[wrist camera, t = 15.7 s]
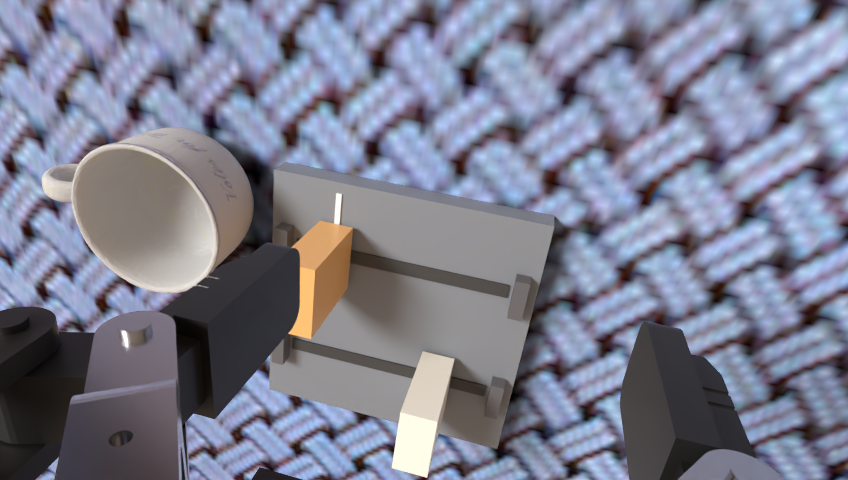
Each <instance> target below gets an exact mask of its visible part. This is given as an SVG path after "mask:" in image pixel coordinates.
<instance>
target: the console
mask: <svg viewBox="0 0 848 480" xmlns="http://www.w3.org/2000/svg"><path fill="white" fill-rule="evenodd" d="M319 221H324V222H329V223H334V224H338V225H343V226H348V227H352V228H353V235H352V246H351V257H350V269H349V280H348V288H347V290H346V291H345V293H344V294H343V295H342V297H341V298H340V300H339V301H338V302H337V304H336V305H335V307H334V308H333V309H332V311H331V312H330V314H329V315H328V316H327V318H326V319H325V321H324V322H323V323H322V325H321V326H320V328H319V329H318V330H317V332H316V333H315V335H314V336H313V337H312V339H308V338H304V337H300V336H296V335H292V334H287V335H286V337H285V338H284V339H283V340H282V341H281V342H280V344H279V345H278V346H277V347H276V348H275V349H274V351H273V352H272V353H271V354H270V388H269V389H271V390H274V391H278V392H282V393H286V394H290V395H293V396H297V397H301V398H305V399H309V400H313V401H316V402H320V403H324V404H328V405H332V406H335V407H339V408H343V409H347V410H351V411H354V412H358V413H362V414H366V415H370V416H374V417H377V418H381V419H385V420H389V421H393V422H396V423H399V418H400V412H401V409H402V406H403V404H404V401H405V398H406V396H407V393H408V390H409V387H410V385H411V382H412V379H413V376H414V374H415V371H416V368H417V366H418V363H419V360H420V357H421V355H422V352H423V351H424V352H428V353H432V354H437V355H441V356H445V357H449V358H453V359H454V364H453V370H452V375H451V380H450V385H449V390H448V395H447V400H446V405H445V410H444V414H443V418H442V422H441V426H440V429H439V433H438V434H442V435H446V436H450V437H454V438H457V439H461V440H465V441H469V442H473V443H476V444H480V445H484V446H488V447H492V448H495V449H497V448H498V444H499V440H500V436H501V432H502V428H503V424H504V420H505V417H506V413H507V409H508V405H509V401H510V397H511V393H512V389H513V386H514V382H515V378H516V374H517V370H518V366H519V362H520V358H521V355H522V351H523V347H524V343H525V339H526V335H527V331H528V327H529V324H530V320H531V316H532V312H533V308H534V304H535V300H536V296H537V293H538V289H539V285H540V281H541V277H542V273H543V269H544V265H545V262H546V258H547V254H548V250H549V246H550V242H551V238H552V234H553V231H554V227H555V224H554V216H552V215H547V214H542V213H537V212H532V211H527V210H522V209H517V208H512V207H507V206H502V205H497V204H492V203H487V202H482V201H477V200H472V199H467V198H462V197H457V196H452V195H447V194H442V193H437V192H432V191H427V190H422V189H417V188H412V187H407V186H402V185H397V184H392V183H387V182H382V181H377V180H372V179H367V178H363V177H358V176H353V175H348V174H343V173H338V172H333V171H328V170H323V169H318V168H313V167H308V166H303V165H298V164H293V163H288V162H285V163H284V164H282V165H280V166H279V167H277V168H275V169H274V188H273V238H272V244H277V245H282V246H287V247H292V246H293V245H294V244H296V243H297V242H298V241H299V240H300V239H301V238H302V237H303V236H304V235H305V234H306V233H307V232H308V231H309V230H311V229H312V228H313V227H314V226H315V225H316V224H317V223H318V222H319Z"/></svg>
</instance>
